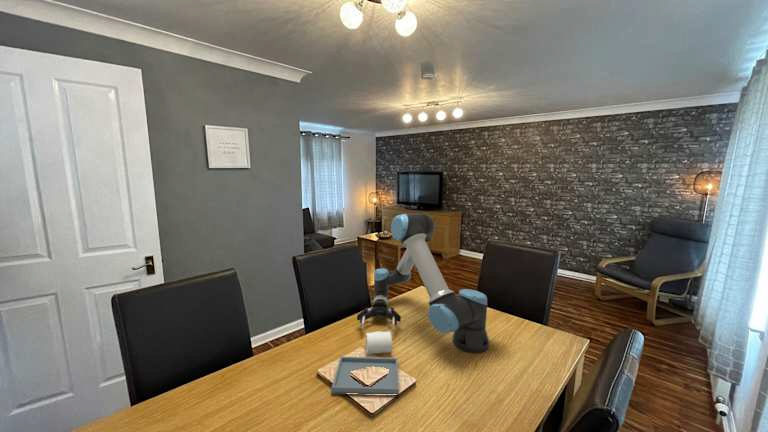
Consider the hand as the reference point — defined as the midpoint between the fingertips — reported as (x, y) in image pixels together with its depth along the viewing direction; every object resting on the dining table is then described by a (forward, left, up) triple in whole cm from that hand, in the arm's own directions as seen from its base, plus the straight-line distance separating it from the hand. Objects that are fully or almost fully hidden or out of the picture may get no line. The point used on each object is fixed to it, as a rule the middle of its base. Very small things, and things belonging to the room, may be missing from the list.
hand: (378, 326), depth 132 cm
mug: (0, +7, -6) cm, 10 cm away
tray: (+3, +26, -6) cm, 27 cm away
